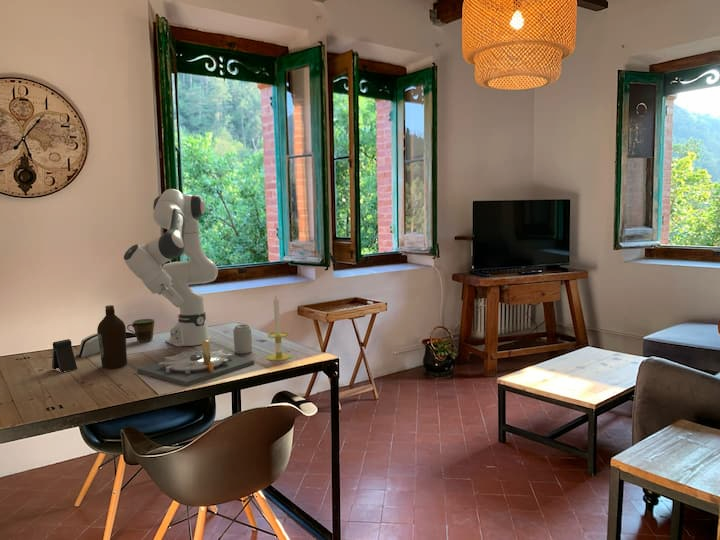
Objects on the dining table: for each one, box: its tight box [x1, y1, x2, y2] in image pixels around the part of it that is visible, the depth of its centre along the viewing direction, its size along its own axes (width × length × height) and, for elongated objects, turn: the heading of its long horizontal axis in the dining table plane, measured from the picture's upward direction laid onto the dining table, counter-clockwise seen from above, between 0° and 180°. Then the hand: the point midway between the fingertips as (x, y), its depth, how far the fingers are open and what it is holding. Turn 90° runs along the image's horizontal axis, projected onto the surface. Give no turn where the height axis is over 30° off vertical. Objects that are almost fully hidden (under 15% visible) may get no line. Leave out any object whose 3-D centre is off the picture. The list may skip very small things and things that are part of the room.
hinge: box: [75, 332, 100, 358], centre depth 248 cm, size 17×5×10 cm, turn 156°
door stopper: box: [51, 339, 78, 372], centre depth 222 cm, size 9×6×12 cm, turn 52°
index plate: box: [136, 355, 255, 387], centre depth 218 cm, size 32×32×6 cm
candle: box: [266, 295, 292, 362], centre depth 228 cm, size 10×10×27 cm
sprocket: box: [158, 340, 233, 374], centre depth 217 cm, size 27×28×11 cm
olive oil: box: [96, 304, 128, 370], centre depth 224 cm, size 11×11×25 cm
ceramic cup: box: [126, 318, 155, 343], centre depth 266 cm, size 13×10×10 cm
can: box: [233, 323, 253, 355], centre depth 239 cm, size 8×8×12 cm
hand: (183, 308), depth 212 cm, fingers closed
